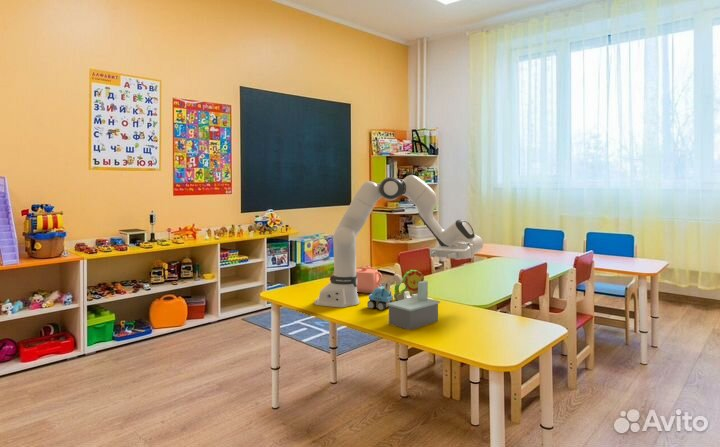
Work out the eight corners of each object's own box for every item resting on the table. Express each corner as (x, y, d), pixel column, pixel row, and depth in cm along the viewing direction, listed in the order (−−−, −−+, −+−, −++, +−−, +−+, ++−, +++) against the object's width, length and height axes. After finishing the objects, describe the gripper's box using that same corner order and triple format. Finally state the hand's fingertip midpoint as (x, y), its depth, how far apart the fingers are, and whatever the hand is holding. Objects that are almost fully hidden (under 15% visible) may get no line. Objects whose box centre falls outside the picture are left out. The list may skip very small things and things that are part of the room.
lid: (387, 306, 192) (387, 284, 191) (416, 299, 205) (416, 278, 204) (410, 312, 183) (410, 289, 182) (439, 304, 195) (439, 282, 195)
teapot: (386, 287, 263) (386, 263, 262) (379, 295, 244) (379, 269, 243) (353, 285, 268) (353, 262, 267) (343, 293, 249) (343, 268, 248)
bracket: (413, 310, 214) (413, 294, 213) (403, 307, 220) (403, 291, 219) (434, 306, 221) (434, 291, 220) (424, 303, 227) (424, 288, 226)
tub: (388, 323, 193) (388, 305, 192) (416, 315, 205) (416, 298, 204) (410, 330, 184) (410, 310, 183) (437, 321, 196) (438, 303, 195)
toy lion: (397, 301, 229) (397, 272, 228) (393, 299, 235) (393, 270, 233) (425, 299, 234) (425, 270, 233) (421, 296, 240) (421, 268, 238)
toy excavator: (396, 313, 209) (396, 276, 207) (365, 308, 218) (365, 273, 216) (404, 309, 216) (404, 273, 215) (374, 304, 225) (374, 270, 223)
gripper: (440, 242, 221) (421, 248, 212) (475, 244, 205) (456, 250, 196) (441, 255, 222) (422, 261, 213) (476, 257, 206) (457, 264, 197)
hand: (439, 256), depth 204 cm, fingers open, 8 cm apart
